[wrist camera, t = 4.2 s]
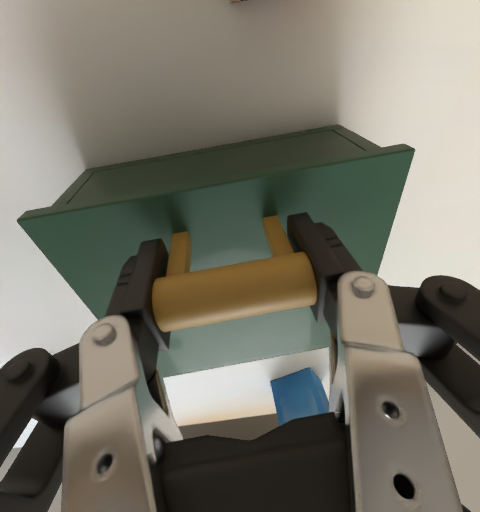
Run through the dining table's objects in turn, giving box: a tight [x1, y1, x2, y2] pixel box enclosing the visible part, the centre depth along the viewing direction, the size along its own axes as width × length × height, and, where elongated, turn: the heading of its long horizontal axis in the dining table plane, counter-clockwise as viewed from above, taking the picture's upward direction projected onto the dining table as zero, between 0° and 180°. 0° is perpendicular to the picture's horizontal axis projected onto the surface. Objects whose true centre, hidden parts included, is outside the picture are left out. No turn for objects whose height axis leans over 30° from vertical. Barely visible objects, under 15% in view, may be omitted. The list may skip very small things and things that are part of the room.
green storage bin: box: [51, 125, 381, 207], centre depth 18 cm, size 14×16×6 cm
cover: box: [17, 144, 415, 378], centre depth 13 cm, size 14×16×5 cm
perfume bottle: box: [271, 368, 329, 426], centre depth 34 cm, size 6×6×12 cm
